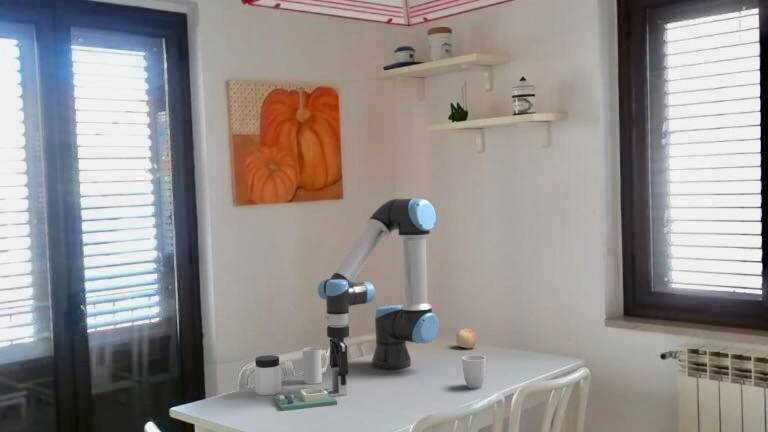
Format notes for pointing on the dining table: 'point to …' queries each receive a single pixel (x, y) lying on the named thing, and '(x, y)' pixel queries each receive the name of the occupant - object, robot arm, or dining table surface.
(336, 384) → the plug
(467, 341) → the apple
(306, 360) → the mug
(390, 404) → the dining table surface
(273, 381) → the jar
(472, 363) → the cup
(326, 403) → the board
